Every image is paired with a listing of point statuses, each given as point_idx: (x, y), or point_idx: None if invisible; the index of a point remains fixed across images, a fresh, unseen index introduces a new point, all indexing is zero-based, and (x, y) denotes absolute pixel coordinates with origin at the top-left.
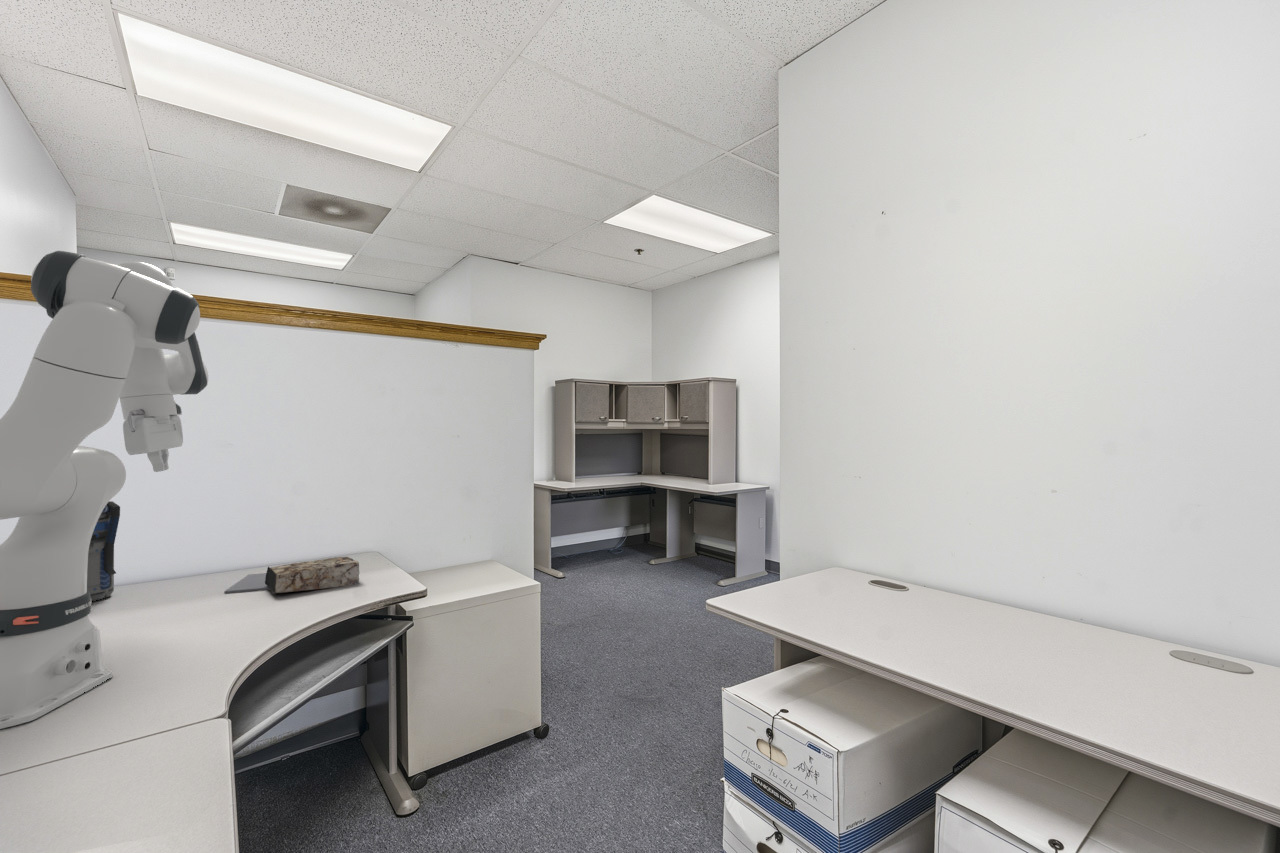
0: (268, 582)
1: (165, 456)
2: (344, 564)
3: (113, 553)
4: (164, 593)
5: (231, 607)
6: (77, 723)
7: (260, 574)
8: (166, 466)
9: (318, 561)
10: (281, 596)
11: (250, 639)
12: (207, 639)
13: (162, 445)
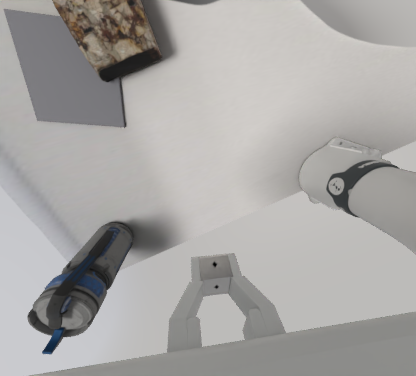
0: (120, 73)
1: (192, 308)
2: None
3: (87, 248)
4: (109, 185)
5: (186, 103)
6: (398, 127)
7: (39, 104)
8: (208, 263)
9: None
10: None
11: (308, 55)
12: (285, 97)
13: (304, 365)
